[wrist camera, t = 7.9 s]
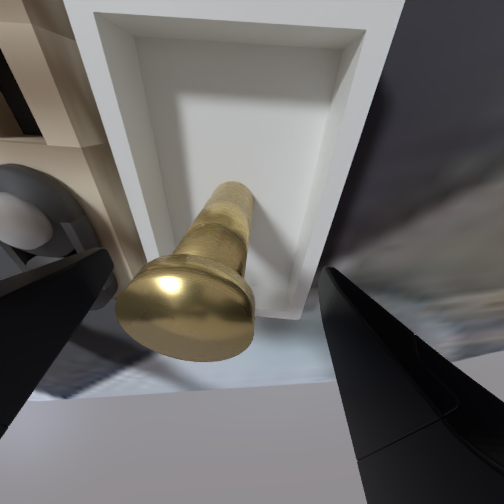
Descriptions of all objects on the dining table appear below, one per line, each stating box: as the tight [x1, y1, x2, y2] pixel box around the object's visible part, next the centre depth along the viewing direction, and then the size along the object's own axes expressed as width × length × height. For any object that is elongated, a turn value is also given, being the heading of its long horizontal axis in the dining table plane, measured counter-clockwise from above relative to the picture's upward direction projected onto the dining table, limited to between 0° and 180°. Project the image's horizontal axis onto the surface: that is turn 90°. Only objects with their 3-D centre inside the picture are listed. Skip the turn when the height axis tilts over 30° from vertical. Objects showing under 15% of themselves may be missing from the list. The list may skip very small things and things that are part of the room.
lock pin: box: [115, 181, 255, 362], centre depth 10 cm, size 4×4×10 cm
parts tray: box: [63, 0, 405, 320], centre depth 13 cm, size 18×12×4 cm, turn 177°
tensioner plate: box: [0, 0, 148, 310], centre depth 13 cm, size 18×8×5 cm, turn 177°
